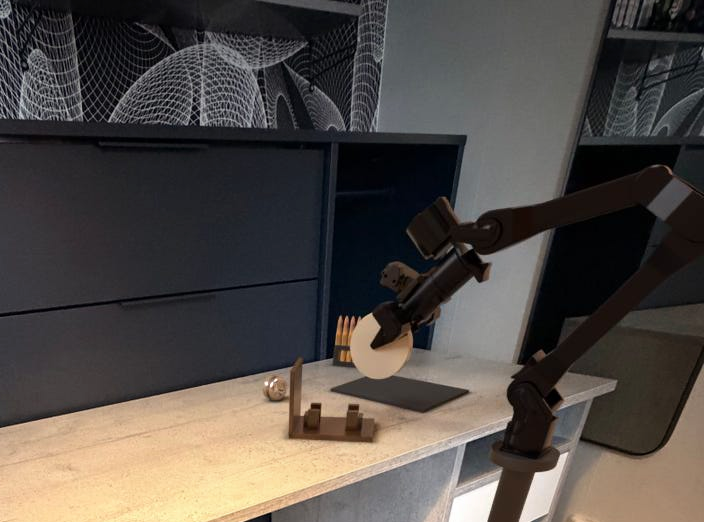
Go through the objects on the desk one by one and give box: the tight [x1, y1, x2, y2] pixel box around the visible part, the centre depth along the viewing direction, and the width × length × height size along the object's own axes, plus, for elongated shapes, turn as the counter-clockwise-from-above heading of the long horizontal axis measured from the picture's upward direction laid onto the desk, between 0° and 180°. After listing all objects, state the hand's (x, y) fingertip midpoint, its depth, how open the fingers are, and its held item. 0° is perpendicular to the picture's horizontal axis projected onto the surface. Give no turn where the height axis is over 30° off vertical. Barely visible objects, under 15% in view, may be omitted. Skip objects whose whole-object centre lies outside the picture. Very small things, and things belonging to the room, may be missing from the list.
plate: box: [350, 312, 414, 379], centre depth 97 cm, size 12×2×12 cm, turn 50°
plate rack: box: [287, 357, 376, 443], centre depth 93 cm, size 15×10×12 cm, turn 75°
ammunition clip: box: [332, 315, 362, 369], centre depth 131 cm, size 11×2×12 cm, turn 54°
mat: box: [330, 374, 470, 414], centre depth 114 cm, size 24×18×1 cm
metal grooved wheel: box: [262, 374, 288, 402], centre depth 113 cm, size 5×3×5 cm, turn 129°
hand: (373, 346), depth 98 cm, fingers closed on plate, 2 cm apart
